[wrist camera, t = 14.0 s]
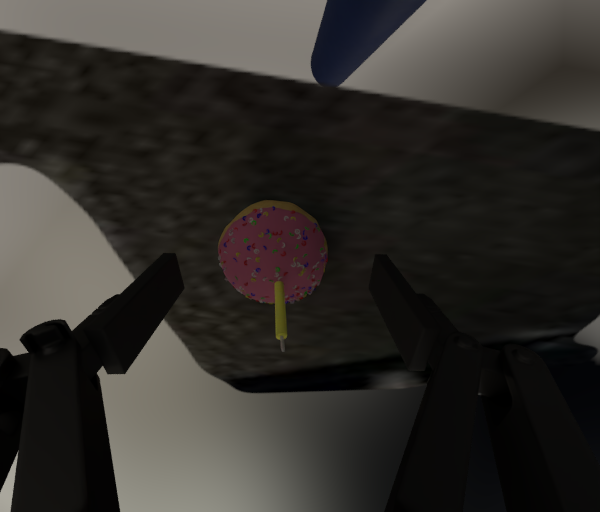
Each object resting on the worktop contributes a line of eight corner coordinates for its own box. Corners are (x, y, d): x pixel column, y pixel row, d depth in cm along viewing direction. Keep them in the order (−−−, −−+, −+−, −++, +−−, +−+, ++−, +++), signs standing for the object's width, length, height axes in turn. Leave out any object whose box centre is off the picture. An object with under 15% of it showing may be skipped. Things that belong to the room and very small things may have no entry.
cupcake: (333, 254, 24) (369, 351, 13) (258, 284, 25) (236, 395, 14) (299, 173, 20) (311, 216, 9) (213, 213, 21) (138, 291, 11)
